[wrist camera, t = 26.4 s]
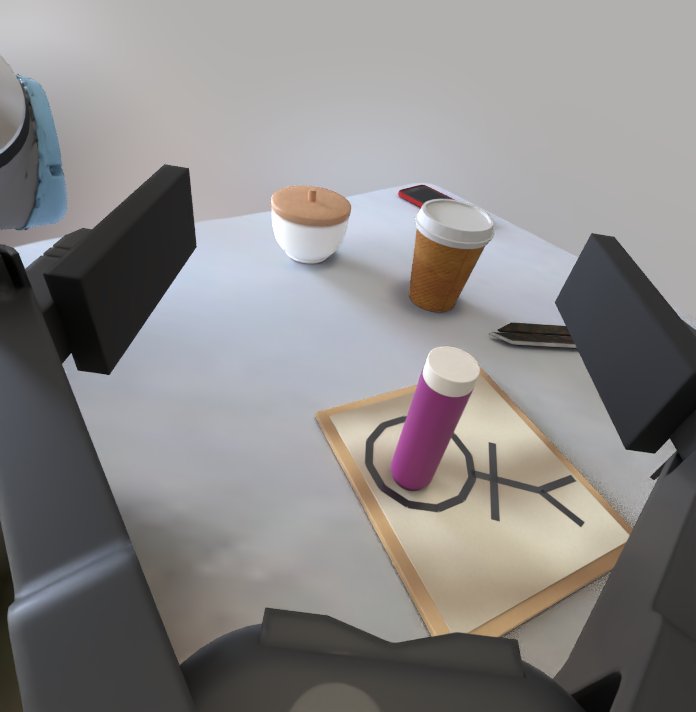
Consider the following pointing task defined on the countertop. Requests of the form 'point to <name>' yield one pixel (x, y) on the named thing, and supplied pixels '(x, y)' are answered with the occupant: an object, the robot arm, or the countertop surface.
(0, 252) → the robot arm
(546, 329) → the knife
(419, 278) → the disposable coffee cup
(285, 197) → the lidded sugar bowl
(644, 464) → the countertop surface
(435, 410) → the dot marker
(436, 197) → the cell phone
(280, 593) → the countertop surface
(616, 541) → the drawing board
